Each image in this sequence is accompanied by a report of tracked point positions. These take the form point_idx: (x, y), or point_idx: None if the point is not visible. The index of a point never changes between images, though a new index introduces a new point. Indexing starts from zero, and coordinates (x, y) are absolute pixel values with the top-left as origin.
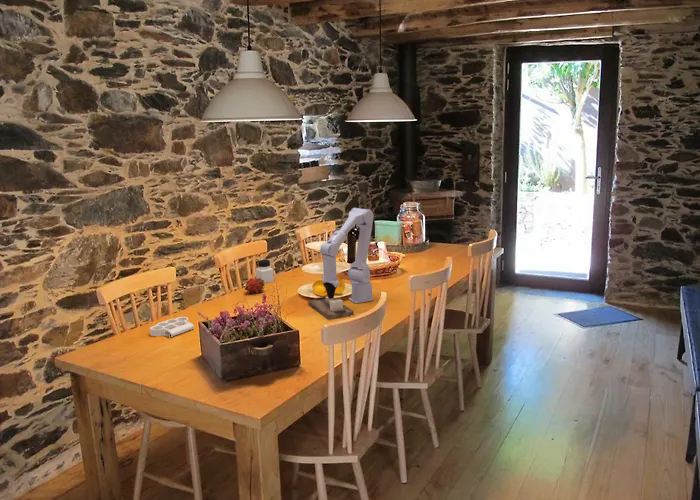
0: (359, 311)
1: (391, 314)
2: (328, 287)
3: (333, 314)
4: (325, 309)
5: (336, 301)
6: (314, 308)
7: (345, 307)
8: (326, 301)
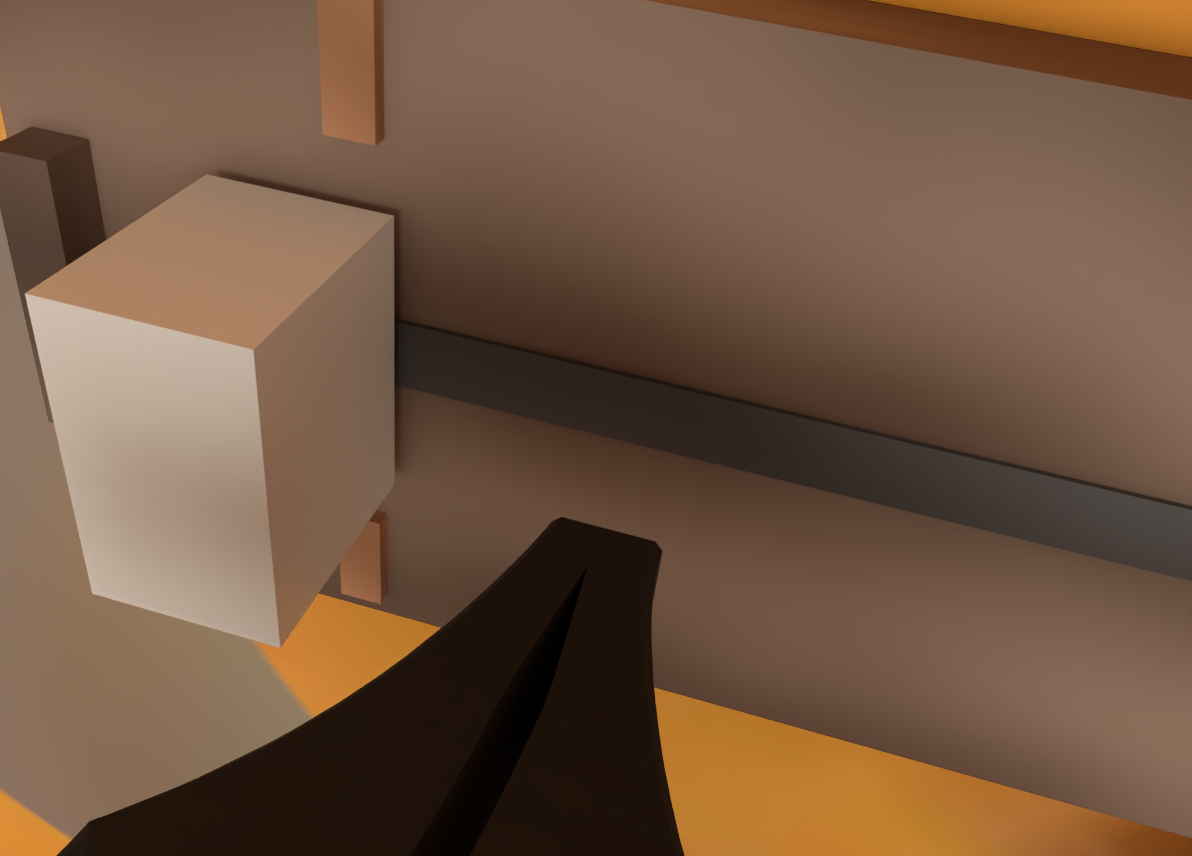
0: (311, 662)
1: (2, 799)
2: (120, 837)
3: (17, 55)
4: (520, 137)
5: (102, 456)
6: (1171, 64)
7: (340, 561)
8: (1153, 597)
